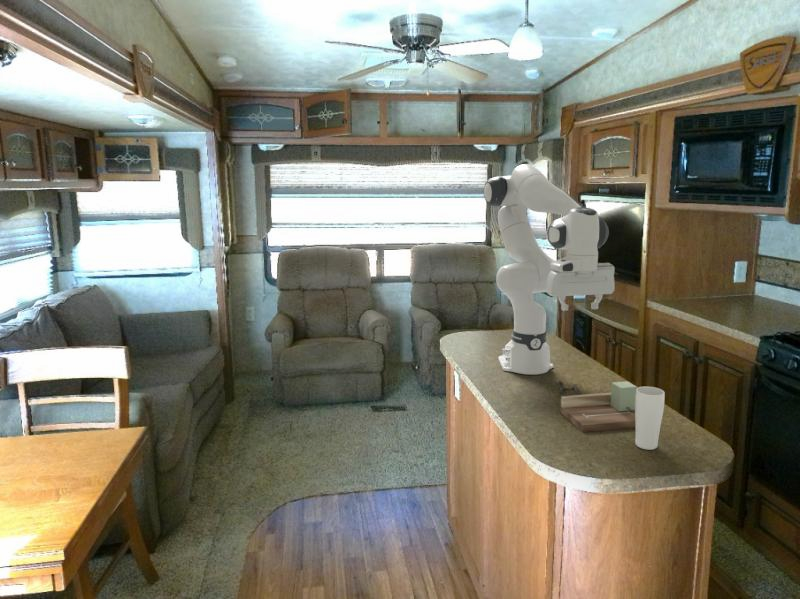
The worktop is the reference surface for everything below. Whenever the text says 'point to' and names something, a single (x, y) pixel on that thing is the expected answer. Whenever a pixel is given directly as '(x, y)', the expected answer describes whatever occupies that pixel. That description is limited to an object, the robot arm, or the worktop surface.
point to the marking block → (623, 396)
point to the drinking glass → (648, 416)
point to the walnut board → (595, 413)
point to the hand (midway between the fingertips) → (579, 309)
